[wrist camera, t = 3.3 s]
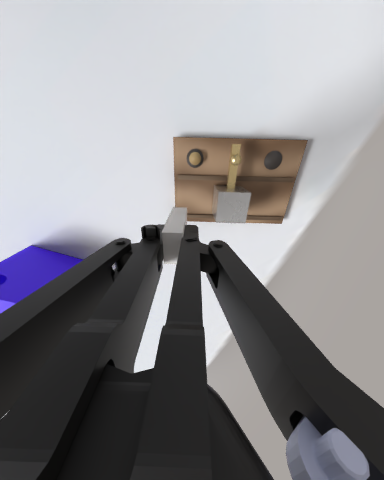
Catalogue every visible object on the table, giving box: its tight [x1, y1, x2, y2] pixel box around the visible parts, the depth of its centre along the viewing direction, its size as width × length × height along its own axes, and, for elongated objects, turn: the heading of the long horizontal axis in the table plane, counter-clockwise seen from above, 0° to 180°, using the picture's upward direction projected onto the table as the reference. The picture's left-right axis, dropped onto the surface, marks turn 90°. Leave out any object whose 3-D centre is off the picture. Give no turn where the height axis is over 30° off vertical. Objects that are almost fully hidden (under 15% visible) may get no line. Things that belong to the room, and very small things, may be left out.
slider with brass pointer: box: [212, 144, 251, 223], centre depth 21 cm, size 9×4×5 cm, turn 179°
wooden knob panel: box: [173, 137, 308, 224], centre depth 24 cm, size 12×18×3 cm, turn 89°
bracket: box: [0, 246, 83, 313], centre depth 31 cm, size 18×11×12 cm, turn 160°
